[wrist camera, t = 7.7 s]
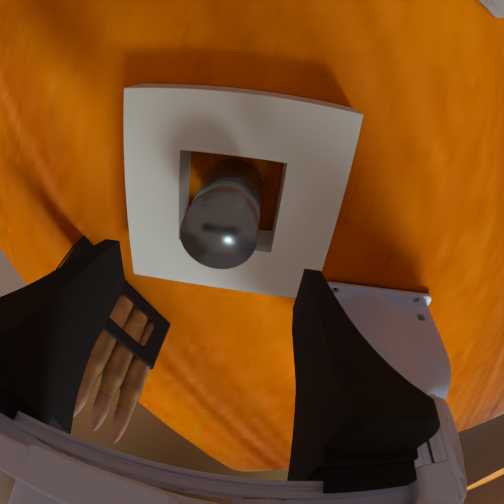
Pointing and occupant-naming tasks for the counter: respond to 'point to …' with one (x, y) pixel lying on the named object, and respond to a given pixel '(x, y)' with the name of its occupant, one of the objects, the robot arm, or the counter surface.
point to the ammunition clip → (120, 354)
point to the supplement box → (494, 7)
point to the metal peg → (224, 216)
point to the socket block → (245, 145)
